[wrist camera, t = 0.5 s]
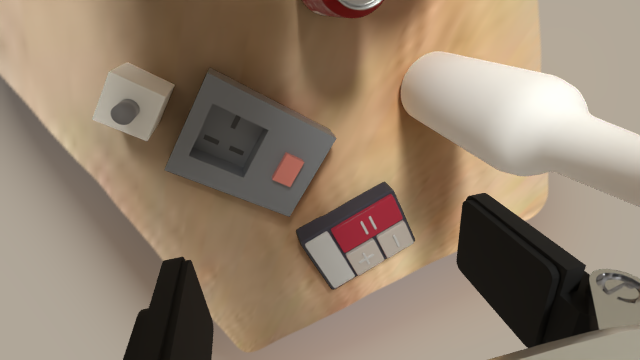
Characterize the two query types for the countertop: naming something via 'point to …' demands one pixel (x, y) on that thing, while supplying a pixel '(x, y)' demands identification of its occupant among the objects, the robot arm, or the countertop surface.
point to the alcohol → (521, 122)
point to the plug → (133, 101)
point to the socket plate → (249, 145)
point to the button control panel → (356, 235)
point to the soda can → (343, 7)
